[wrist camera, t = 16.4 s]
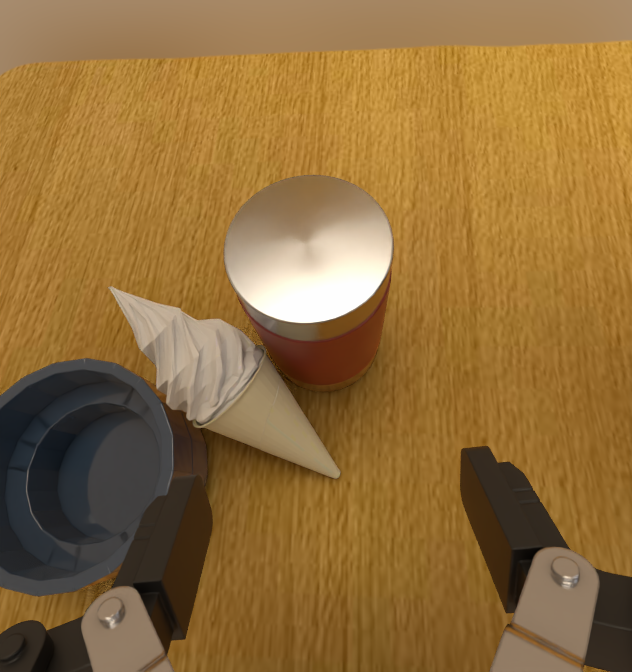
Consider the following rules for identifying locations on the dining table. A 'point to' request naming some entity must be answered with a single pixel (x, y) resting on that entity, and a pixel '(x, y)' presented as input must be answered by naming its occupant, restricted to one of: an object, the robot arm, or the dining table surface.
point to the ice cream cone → (224, 382)
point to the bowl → (83, 471)
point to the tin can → (313, 277)
